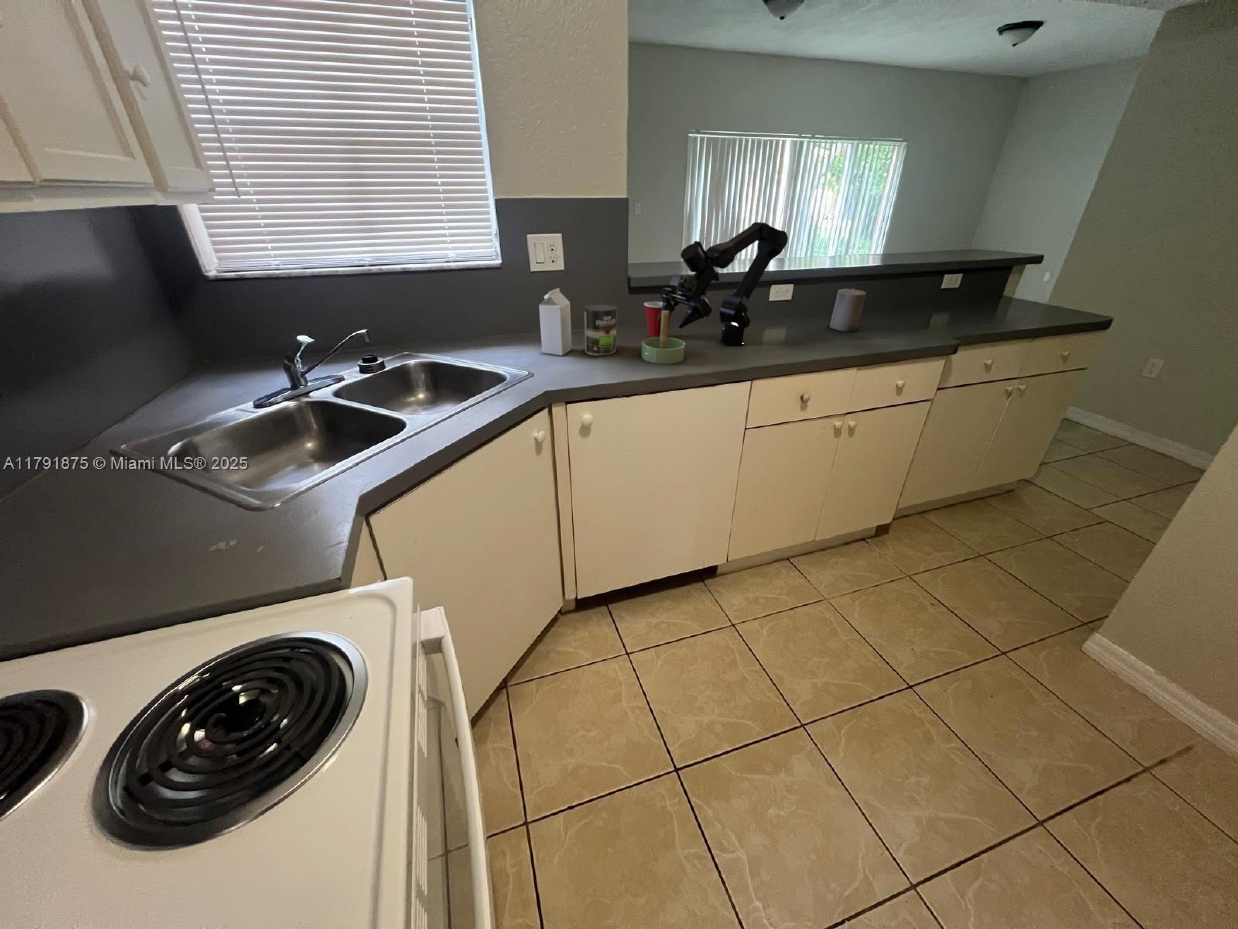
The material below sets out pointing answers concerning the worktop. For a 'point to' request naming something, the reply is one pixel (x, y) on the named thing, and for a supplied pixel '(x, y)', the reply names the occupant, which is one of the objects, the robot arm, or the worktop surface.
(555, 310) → the milk carton
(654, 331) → the plastic cup
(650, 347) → the bowl
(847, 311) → the pillar candle
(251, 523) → the worktop surface
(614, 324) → the coffee can
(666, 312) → the stick
